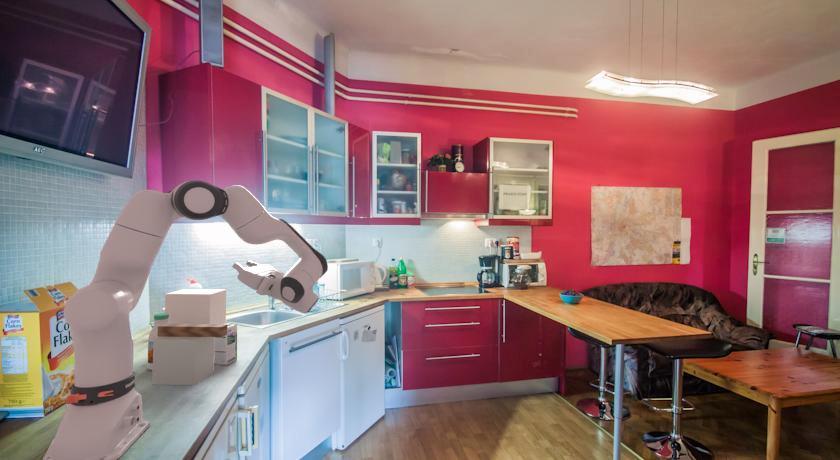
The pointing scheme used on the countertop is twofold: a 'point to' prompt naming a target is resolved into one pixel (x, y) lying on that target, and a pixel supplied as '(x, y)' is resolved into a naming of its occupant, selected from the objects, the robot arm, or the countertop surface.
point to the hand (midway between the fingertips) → (241, 263)
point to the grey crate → (182, 360)
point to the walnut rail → (192, 330)
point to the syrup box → (226, 346)
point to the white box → (196, 306)
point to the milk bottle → (155, 335)
